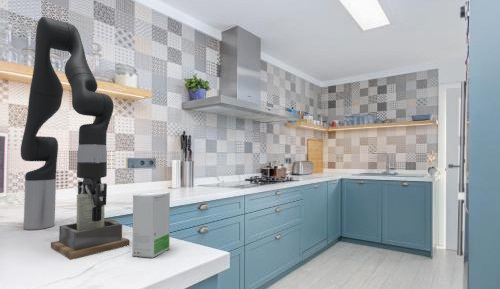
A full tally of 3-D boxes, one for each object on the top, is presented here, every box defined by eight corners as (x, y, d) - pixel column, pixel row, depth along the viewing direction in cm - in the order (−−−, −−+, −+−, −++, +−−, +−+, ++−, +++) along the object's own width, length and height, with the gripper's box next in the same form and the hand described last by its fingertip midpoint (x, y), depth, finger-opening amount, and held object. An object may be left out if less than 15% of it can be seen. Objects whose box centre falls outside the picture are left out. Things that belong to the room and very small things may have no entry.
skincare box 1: (104, 233, 84) (105, 192, 85) (100, 237, 80) (101, 193, 81) (81, 235, 83) (82, 192, 84) (75, 239, 79) (76, 194, 79)
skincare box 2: (152, 258, 71) (153, 195, 72) (129, 256, 73) (130, 194, 74) (170, 248, 79) (171, 191, 80) (149, 246, 81) (150, 191, 82)
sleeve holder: (50, 247, 80) (51, 226, 81) (105, 236, 92) (106, 217, 92) (70, 259, 71) (71, 234, 71) (129, 245, 82) (129, 224, 83)
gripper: (68, 160, 84) (67, 218, 83) (88, 161, 75) (87, 225, 74) (95, 160, 90) (94, 214, 89) (117, 160, 81) (116, 220, 80)
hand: (91, 219), depth 82 cm, fingers closed on skincare box 1, 7 cm apart
